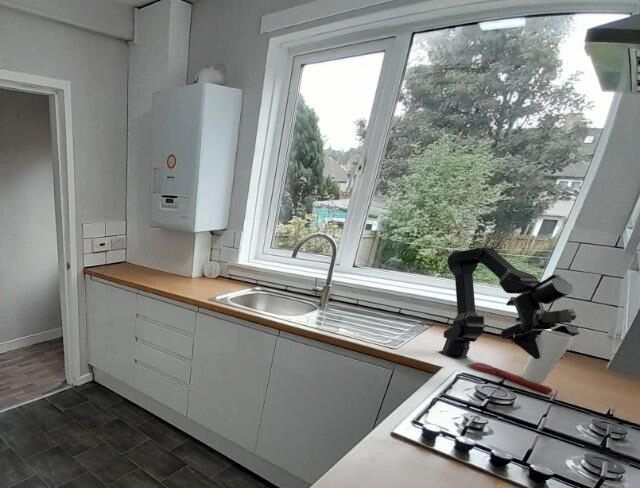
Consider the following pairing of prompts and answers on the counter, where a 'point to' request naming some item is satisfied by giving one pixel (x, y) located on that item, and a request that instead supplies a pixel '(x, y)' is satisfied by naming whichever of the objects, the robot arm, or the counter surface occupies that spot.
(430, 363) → the counter surface
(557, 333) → the drinking glass
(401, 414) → the counter surface
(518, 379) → the red long flat piece
